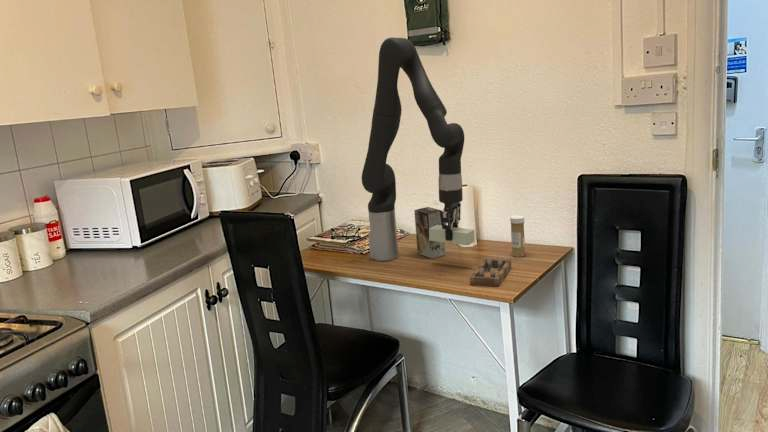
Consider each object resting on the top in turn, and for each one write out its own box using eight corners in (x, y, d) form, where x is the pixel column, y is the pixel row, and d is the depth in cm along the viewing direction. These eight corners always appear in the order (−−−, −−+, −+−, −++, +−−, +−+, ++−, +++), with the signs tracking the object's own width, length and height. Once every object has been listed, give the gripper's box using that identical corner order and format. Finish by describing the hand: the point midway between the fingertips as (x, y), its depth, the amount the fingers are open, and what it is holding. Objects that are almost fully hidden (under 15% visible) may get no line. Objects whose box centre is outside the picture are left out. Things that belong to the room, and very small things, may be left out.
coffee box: (446, 255, 216) (443, 210, 212) (431, 259, 213) (428, 213, 209) (431, 249, 224) (428, 206, 220) (416, 253, 221) (413, 209, 217)
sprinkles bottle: (528, 255, 208) (527, 216, 205) (518, 258, 206) (517, 218, 203) (518, 252, 212) (517, 214, 209) (508, 255, 210) (507, 216, 207)
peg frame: (498, 286, 181) (498, 273, 180) (470, 284, 185) (469, 272, 184) (511, 267, 197) (510, 255, 196) (484, 266, 201) (484, 254, 200)
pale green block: (429, 240, 204) (428, 228, 203) (436, 236, 208) (436, 225, 207) (467, 245, 196) (467, 233, 195) (474, 241, 200) (474, 229, 199)
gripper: (446, 182, 205) (447, 231, 209) (431, 191, 193) (433, 243, 197) (468, 182, 202) (469, 232, 206) (455, 192, 190) (456, 244, 194)
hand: (451, 237), depth 202 cm, fingers closed on pale green block, 5 cm apart
